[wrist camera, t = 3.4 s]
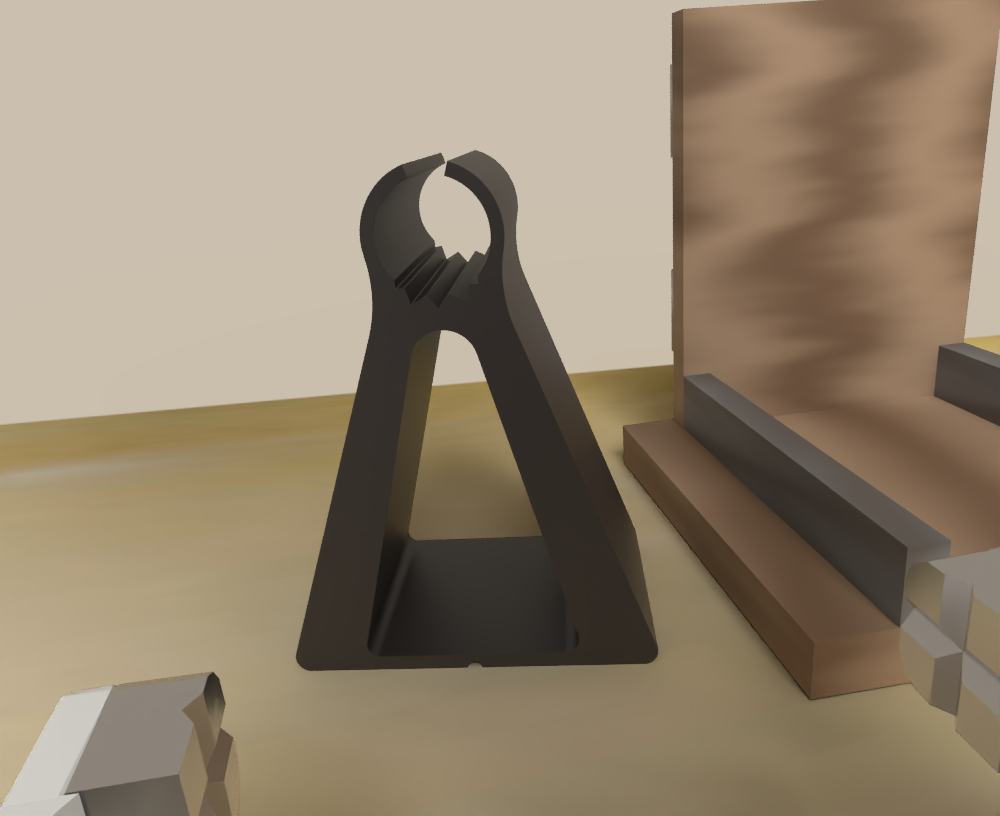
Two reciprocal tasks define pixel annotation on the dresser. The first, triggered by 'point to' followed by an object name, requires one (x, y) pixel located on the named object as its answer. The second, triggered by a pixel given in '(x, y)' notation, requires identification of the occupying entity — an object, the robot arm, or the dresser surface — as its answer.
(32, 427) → the dresser surface
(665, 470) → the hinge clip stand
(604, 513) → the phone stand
